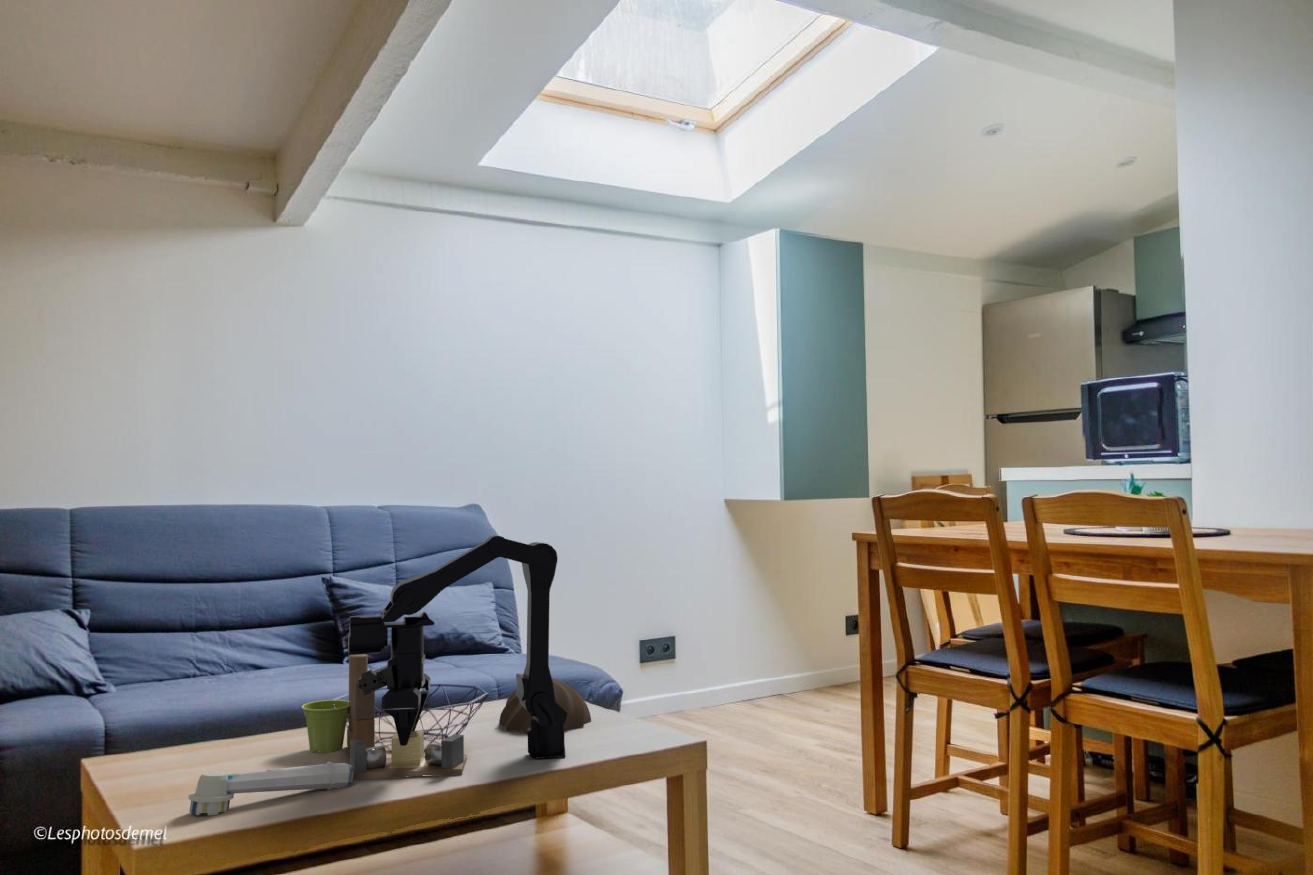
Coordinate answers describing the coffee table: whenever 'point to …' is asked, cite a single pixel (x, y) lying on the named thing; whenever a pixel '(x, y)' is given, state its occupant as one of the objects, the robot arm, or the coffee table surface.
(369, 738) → the wooden block
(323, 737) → the plant pot
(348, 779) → the toothbrush head
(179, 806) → the coffee table surface
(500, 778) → the coffee table surface
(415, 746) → the cream cube
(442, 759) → the shaft
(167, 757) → the coffee table surface
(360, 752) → the shaft
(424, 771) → the board
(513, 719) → the decorative dome
